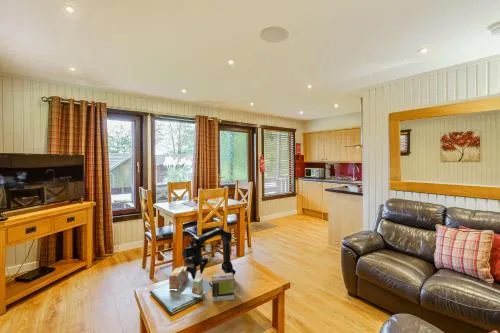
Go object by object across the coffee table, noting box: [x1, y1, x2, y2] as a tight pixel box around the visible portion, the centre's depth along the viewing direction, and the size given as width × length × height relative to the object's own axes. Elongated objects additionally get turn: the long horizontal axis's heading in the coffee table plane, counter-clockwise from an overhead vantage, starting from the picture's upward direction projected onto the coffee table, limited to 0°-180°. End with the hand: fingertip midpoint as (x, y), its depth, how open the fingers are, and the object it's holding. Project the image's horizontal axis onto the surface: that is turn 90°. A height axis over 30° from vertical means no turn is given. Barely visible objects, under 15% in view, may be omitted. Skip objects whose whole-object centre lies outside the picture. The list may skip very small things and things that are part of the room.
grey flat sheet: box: [188, 279, 212, 298], centre depth 181 cm, size 18×23×1 cm
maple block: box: [192, 286, 204, 295], centre depth 174 cm, size 6×6×5 cm
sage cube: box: [192, 277, 204, 289], centre depth 173 cm, size 5×5×5 cm
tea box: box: [211, 272, 235, 302], centre depth 170 cm, size 15×10×15 cm, turn 100°
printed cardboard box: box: [168, 266, 189, 291], centre depth 187 cm, size 21×6×12 cm, turn 174°
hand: (197, 276), depth 173 cm, fingers open, 9 cm apart
